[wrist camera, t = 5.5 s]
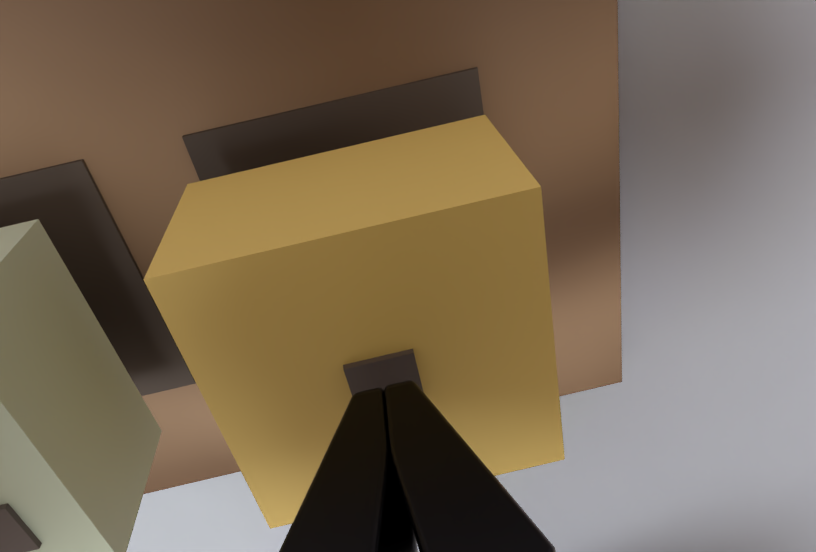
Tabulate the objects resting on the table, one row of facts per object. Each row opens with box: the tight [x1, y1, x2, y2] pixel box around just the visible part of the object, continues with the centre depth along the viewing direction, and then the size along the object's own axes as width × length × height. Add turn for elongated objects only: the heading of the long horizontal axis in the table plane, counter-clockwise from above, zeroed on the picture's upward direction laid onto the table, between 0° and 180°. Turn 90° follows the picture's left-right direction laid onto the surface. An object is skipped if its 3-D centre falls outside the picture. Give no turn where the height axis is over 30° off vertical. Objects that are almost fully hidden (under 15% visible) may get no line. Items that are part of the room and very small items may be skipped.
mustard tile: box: [143, 115, 564, 528], centre depth 10 cm, size 5×5×3 cm
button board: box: [0, 0, 622, 494], centre depth 13 cm, size 12×26×1 cm, turn 101°
